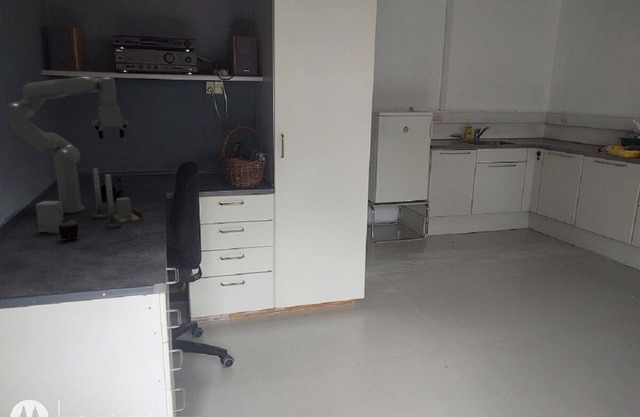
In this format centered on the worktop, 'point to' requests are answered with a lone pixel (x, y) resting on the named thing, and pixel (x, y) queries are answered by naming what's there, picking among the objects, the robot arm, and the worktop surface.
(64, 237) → the mate gourd
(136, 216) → the breaker board
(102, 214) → the far post
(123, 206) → the green block
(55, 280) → the worktop surface
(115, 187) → the muzzle brake
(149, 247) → the worktop surface
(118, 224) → the near post
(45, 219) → the small box
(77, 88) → the robot arm
